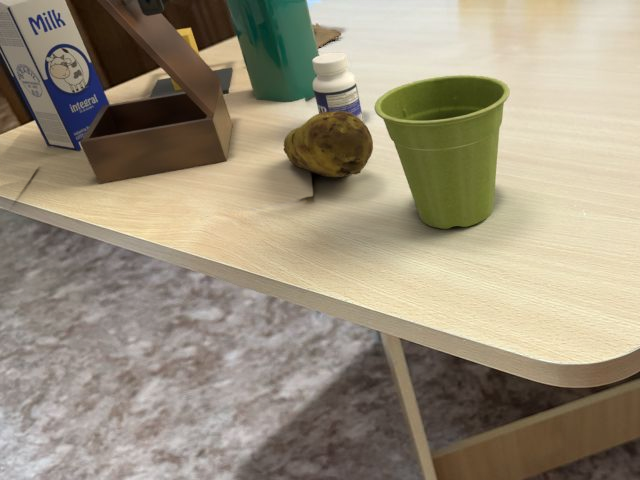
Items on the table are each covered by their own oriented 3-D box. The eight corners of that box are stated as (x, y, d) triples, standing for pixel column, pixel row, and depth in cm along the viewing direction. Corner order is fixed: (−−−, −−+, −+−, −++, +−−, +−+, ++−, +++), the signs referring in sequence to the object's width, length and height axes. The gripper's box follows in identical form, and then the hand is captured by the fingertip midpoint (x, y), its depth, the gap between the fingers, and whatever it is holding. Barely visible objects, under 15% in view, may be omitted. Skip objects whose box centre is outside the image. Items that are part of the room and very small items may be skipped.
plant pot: (532, 188, 69) (526, 74, 62) (493, 249, 61) (481, 124, 54) (425, 181, 73) (408, 72, 66) (374, 237, 65) (349, 119, 58)
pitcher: (332, 87, 101) (293, -89, 87) (296, 108, 95) (248, -77, 82) (280, 83, 105) (235, -86, 91) (243, 103, 99) (189, -74, 86)
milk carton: (92, 131, 97) (20, -29, 84) (124, 135, 94) (54, -29, 81) (48, 151, 92) (-35, -14, 79) (80, 157, 89) (-1, -14, 77)
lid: (90, -7, 68) (130, -42, 67) (114, -29, 78) (149, -60, 77) (208, 117, 78) (244, 88, 77) (216, 83, 87) (249, 57, 86)
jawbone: (352, 34, 125) (350, 22, 124) (295, 73, 111) (293, 60, 109) (308, 30, 127) (306, 18, 126) (247, 68, 113) (244, 55, 112)
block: (175, 91, 106) (156, 39, 101) (178, 82, 109) (160, 32, 105) (204, 86, 106) (187, 34, 101) (207, 77, 110) (190, 27, 105)
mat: (147, 106, 103) (146, 103, 102) (158, 82, 112) (157, 79, 112) (228, 93, 104) (227, 89, 104) (232, 70, 113) (231, 67, 113)
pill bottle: (321, 127, 88) (304, 55, 83) (361, 119, 89) (346, 47, 84) (327, 142, 84) (309, 67, 79) (368, 133, 85) (354, 58, 80)
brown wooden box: (102, 190, 80) (79, 142, 76) (121, 149, 90) (102, 105, 86) (228, 167, 81) (212, 119, 78) (234, 129, 91) (220, 85, 88)
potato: (355, 149, 82) (340, 81, 77) (389, 190, 72) (375, 115, 67) (286, 167, 80) (267, 98, 75) (312, 212, 70) (292, 136, 65)
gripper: (63, -180, 70) (134, 1, 81) (21, -180, 59) (111, 30, 70) (137, -192, 71) (199, -11, 82) (110, -194, 60) (185, 16, 70)
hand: (158, 7), depth 76 cm, fingers closed on lid, 5 cm apart
